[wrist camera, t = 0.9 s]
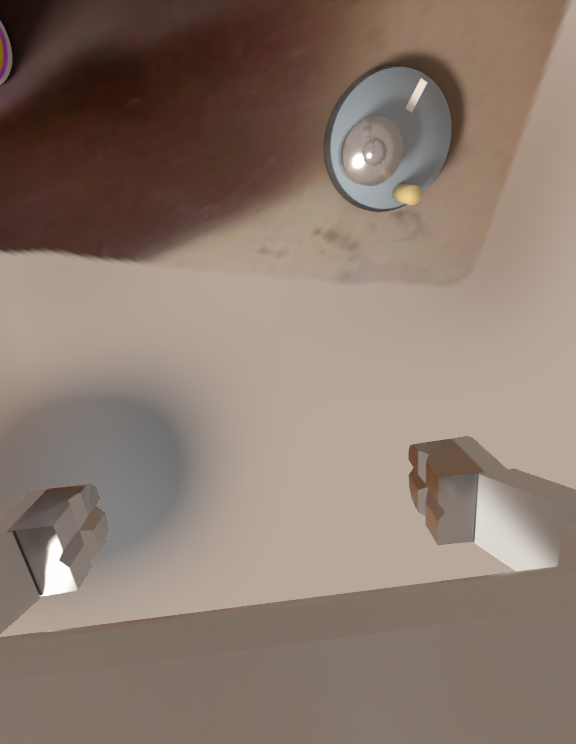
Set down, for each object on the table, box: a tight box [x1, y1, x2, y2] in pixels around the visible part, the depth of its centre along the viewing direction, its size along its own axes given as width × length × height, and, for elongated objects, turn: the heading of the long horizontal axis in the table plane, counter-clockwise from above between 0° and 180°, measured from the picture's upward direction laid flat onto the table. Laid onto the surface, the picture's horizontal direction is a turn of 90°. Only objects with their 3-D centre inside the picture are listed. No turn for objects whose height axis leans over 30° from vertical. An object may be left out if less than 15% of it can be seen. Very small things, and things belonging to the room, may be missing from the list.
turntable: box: [330, 67, 452, 209], centre depth 33 cm, size 11×11×5 cm
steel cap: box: [338, 116, 403, 186], centre depth 33 cm, size 5×5×4 cm
